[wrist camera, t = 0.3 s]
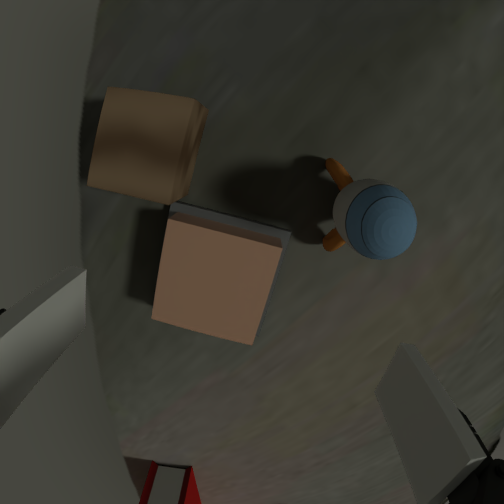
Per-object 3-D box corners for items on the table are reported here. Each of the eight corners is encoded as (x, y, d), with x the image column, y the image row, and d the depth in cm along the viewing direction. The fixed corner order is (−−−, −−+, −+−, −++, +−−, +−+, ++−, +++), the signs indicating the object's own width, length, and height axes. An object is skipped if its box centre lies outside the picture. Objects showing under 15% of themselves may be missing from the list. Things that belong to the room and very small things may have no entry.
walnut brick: (137, 98, 33) (107, 86, 26) (208, 110, 34) (194, 98, 26) (118, 178, 36) (86, 185, 28) (187, 194, 37) (168, 205, 29)
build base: (173, 200, 37) (161, 206, 32) (290, 230, 37) (294, 241, 33) (154, 304, 41) (142, 323, 36) (258, 332, 41) (258, 354, 37)
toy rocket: (329, 256, 39) (328, 297, 25) (292, 177, 38) (269, 173, 24) (404, 222, 36) (445, 245, 22) (368, 142, 35) (389, 116, 21)
